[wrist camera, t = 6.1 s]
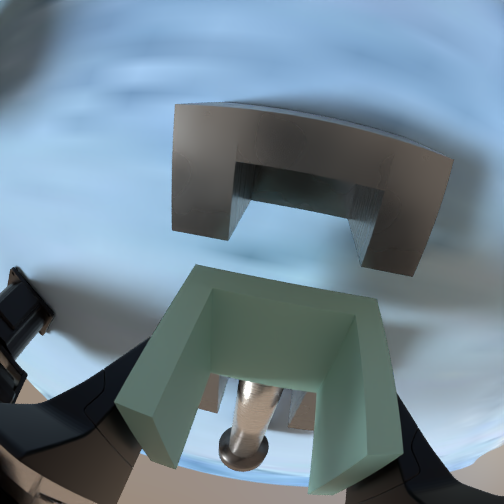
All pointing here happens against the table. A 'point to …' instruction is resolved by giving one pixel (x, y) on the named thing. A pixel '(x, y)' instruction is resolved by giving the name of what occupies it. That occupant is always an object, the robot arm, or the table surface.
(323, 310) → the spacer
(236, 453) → the shaft
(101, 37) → the table surface
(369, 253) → the cradle rig
